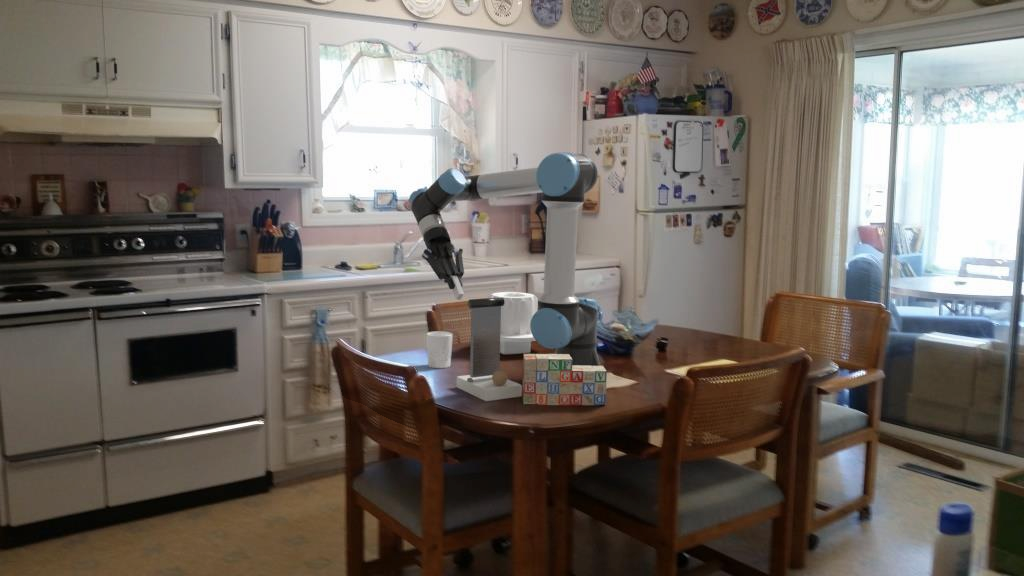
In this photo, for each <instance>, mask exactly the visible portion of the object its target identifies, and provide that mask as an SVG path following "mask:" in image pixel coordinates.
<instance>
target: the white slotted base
mask: <svg viewBox="0 0 1024 576" xmlns="http://www.w3.org/2000/svg"><path fill="white" fill-rule="evenodd" d="M456 388H458V389H459V390H462V391H464V392H466V393H468V394H470V395H472V396H474V397H476V398H478V399H480V400H482V401H484V402H491V401H497V400H498V401H499V400H504V399H511V398H519V397H522V395H523V394H522V393H523V384H520V383H518V382H516V381H512V380H510V379H508V375H507V373H506V372H505V371H503V370H500V369H499V371H496V372H495V373H494V374H493V375H490V376H482V377H474V378H472V377H470V374H468V375H467V374H466V375H459V376H458V375H457V376H456Z"/></svg>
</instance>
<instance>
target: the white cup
mask: <svg viewBox="0 0 1024 576" xmlns="http://www.w3.org/2000/svg"><path fill="white" fill-rule="evenodd" d="M426 350H427V351H426V352H427V367H429V368H433V369H446V368H447V369H448V368H450V367H451V363H452V361H451V359H452V351H453V333H452V332H450V331H443V330H441V331H438V330H437V331H436V330H435V331H428V332H427V333H426Z"/></svg>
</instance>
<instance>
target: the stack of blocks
mask: <svg viewBox="0 0 1024 576" xmlns="http://www.w3.org/2000/svg"><path fill="white" fill-rule="evenodd" d="M522 354H523V356H522V357H523V358H522V359H523V361H522V362H523V363H522V364H523V365H522V396H521V397H522V403H523V405H525V404H538V405H537V406H599V405H605V406H606V402H607V401H606V398H607V375H608V372H607V370H606V368H605V367H604V365H601V366H580V365H572V358H571V357H570V355H569V354H555V353H522Z"/></svg>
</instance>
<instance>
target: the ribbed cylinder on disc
mask: <svg viewBox="0 0 1024 576" xmlns="http://www.w3.org/2000/svg"><path fill="white" fill-rule="evenodd" d="M501 297H502V298H504V301H505V303H504V306H501V328H500V354H502V355H518V354H519V355H520V354H531V348H532V342H537V341H536V340H535V339H534V337H533V335H532V333H531V329H530V322H531V319H532V317H533V315H534V314H535V313H536V312H537V309H538V297H537V296H536V295H534V294H533V293H528V292H519V291H518V292H517V291H501V292H493V293H489V295H488V297H487V298H501Z"/></svg>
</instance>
